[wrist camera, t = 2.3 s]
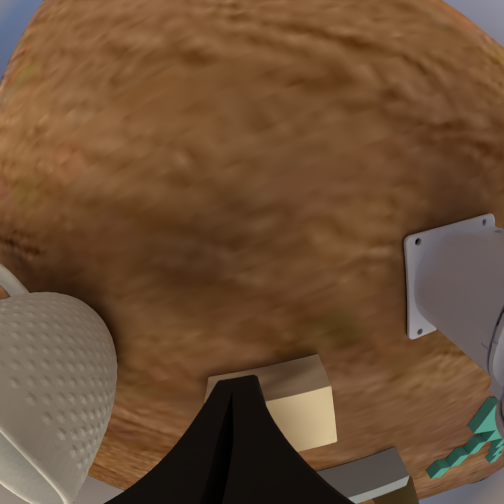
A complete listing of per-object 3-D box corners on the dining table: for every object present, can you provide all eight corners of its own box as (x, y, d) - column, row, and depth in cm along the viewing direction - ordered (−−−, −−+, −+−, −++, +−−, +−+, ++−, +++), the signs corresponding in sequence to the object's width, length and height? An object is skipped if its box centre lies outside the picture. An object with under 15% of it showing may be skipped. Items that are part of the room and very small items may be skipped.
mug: (-11, 277, 18) (-111, 333, 5) (45, 193, 16) (-109, 223, 4) (90, 406, 21) (31, 511, 8) (171, 359, 19) (114, 518, 7)
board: (395, 446, 23) (409, 475, 18) (393, 457, 23) (406, 485, 19) (194, 486, 23) (189, 517, 19) (201, 495, 24) (198, 525, 20)
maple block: (317, 352, 20) (330, 385, 16) (325, 407, 21) (337, 441, 17) (209, 375, 20) (202, 411, 16) (231, 427, 21) (229, 462, 17)
